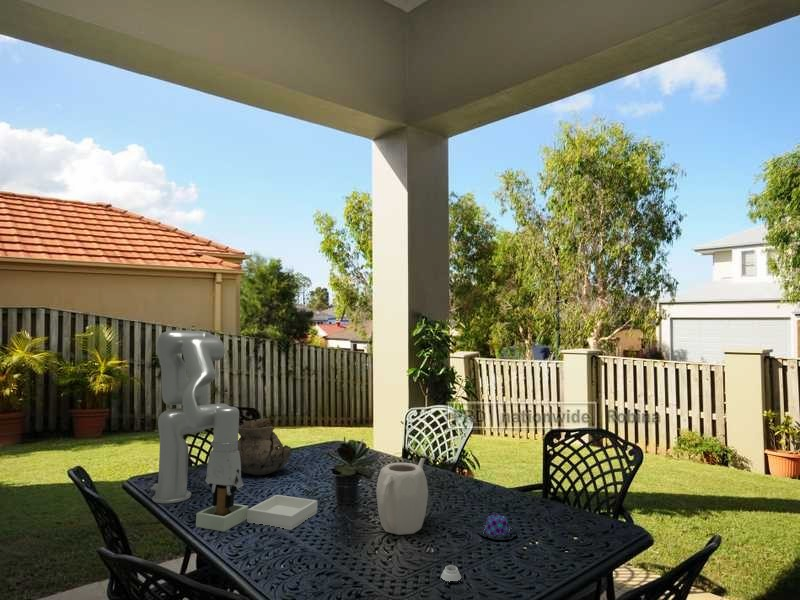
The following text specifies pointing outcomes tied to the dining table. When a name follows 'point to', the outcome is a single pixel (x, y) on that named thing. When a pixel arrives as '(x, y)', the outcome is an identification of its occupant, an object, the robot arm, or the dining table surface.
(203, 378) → the robot arm
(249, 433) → the clay pot
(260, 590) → the dining table surface
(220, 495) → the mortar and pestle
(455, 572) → the white jar
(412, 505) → the watering can
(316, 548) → the dining table surface
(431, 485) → the dining table surface
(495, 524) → the purple patterned dome
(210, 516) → the box
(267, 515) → the tray
